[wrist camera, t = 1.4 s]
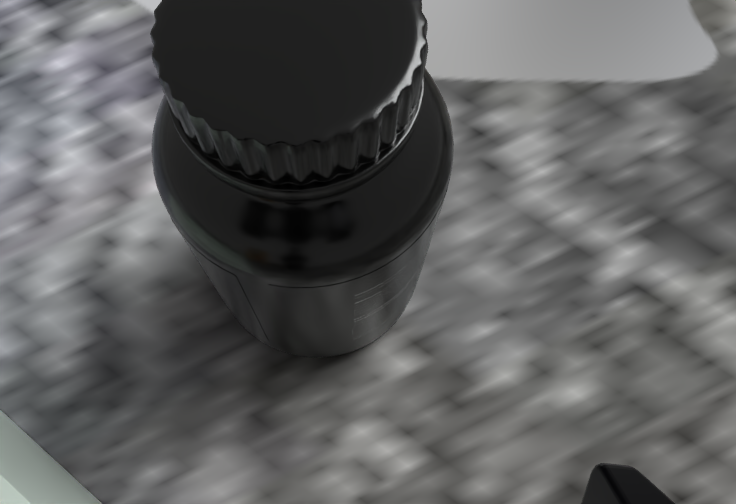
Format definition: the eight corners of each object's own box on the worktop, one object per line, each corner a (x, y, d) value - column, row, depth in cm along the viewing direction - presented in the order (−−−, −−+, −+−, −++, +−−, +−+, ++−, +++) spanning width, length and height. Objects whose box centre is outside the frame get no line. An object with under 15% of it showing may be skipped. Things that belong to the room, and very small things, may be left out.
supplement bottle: (390, 161, 23) (438, -141, 12) (438, 337, 21) (552, 163, 10) (204, 195, 23) (73, -96, 11) (233, 382, 20) (106, 249, 9)
